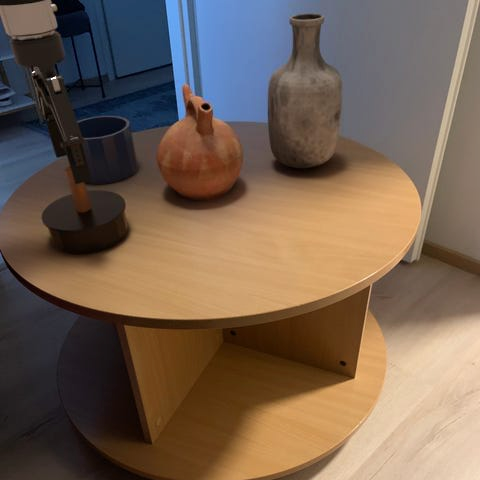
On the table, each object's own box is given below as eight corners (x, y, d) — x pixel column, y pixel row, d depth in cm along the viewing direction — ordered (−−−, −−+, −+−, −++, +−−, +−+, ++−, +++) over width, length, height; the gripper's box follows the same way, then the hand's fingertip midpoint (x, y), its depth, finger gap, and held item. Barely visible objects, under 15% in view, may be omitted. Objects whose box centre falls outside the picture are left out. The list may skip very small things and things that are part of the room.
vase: (273, 181, 112) (272, 28, 92) (264, 153, 124) (261, 12, 105) (344, 174, 112) (358, 21, 93) (328, 147, 125) (337, 6, 105)
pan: (63, 263, 91) (55, 239, 88) (46, 229, 101) (38, 206, 98) (138, 239, 96) (133, 216, 93) (114, 209, 106) (109, 187, 103)
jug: (155, 179, 116) (139, 87, 103) (230, 165, 120) (224, 74, 107) (172, 215, 103) (155, 115, 90) (255, 198, 106) (251, 99, 93)
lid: (53, 244, 88) (37, 197, 82) (35, 209, 99) (19, 164, 93) (137, 219, 93) (128, 173, 87) (111, 188, 104) (101, 144, 98)
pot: (86, 189, 114) (74, 144, 107) (70, 167, 124) (58, 124, 117) (146, 173, 119) (138, 129, 112) (126, 153, 128) (117, 111, 122)
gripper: (80, 43, 69) (115, 187, 83) (41, 18, 86) (75, 141, 100) (24, 53, 66) (69, 200, 80) (-5, 25, 83) (37, 150, 97)
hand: (73, 168), depth 90 cm, fingers open, 13 cm apart
